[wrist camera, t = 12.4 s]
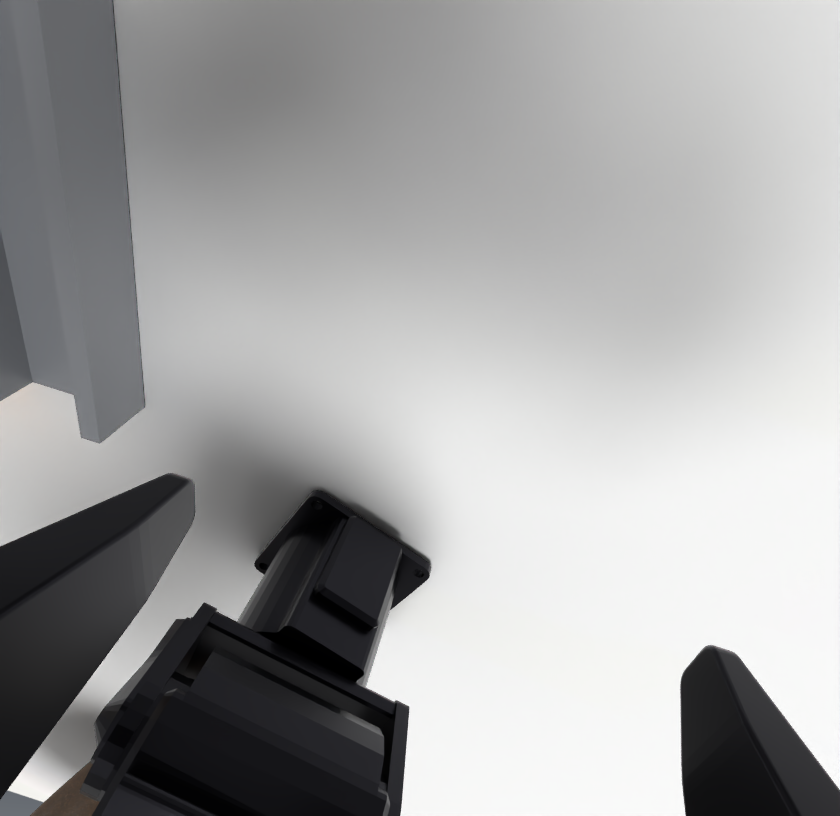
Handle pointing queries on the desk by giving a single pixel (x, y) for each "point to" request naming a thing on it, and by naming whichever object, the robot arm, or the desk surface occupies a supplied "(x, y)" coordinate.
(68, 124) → the rack
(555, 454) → the desk surface
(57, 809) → the plant pot
